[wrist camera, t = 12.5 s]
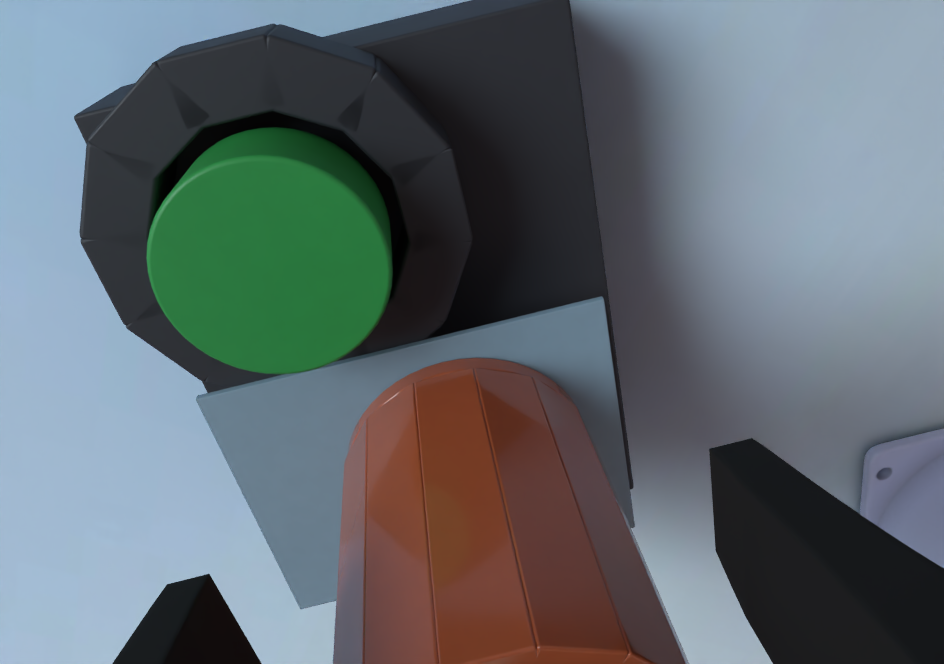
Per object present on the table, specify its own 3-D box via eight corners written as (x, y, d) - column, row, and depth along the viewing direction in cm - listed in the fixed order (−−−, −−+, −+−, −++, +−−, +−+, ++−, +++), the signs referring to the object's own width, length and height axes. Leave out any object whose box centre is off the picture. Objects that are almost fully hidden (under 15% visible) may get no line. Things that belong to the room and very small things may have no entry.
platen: (633, 522, 18) (635, 527, 18) (300, 604, 18) (300, 609, 18) (601, 295, 15) (604, 299, 15) (196, 395, 15) (195, 399, 15)
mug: (311, 393, 15) (267, 713, 9) (571, 328, 15) (709, 605, 9) (403, 624, 18) (417, 964, 12) (612, 572, 18) (728, 887, 12)
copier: (604, 425, 22) (654, 532, 18) (297, 501, 22) (280, 624, 18) (533, -52, 16) (586, -46, 12) (95, 56, 16) (2, 98, 12)
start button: (412, 298, 15) (418, 345, 13) (222, 345, 15) (203, 399, 13) (356, 101, 13) (354, 128, 11) (136, 156, 13) (100, 190, 11)
